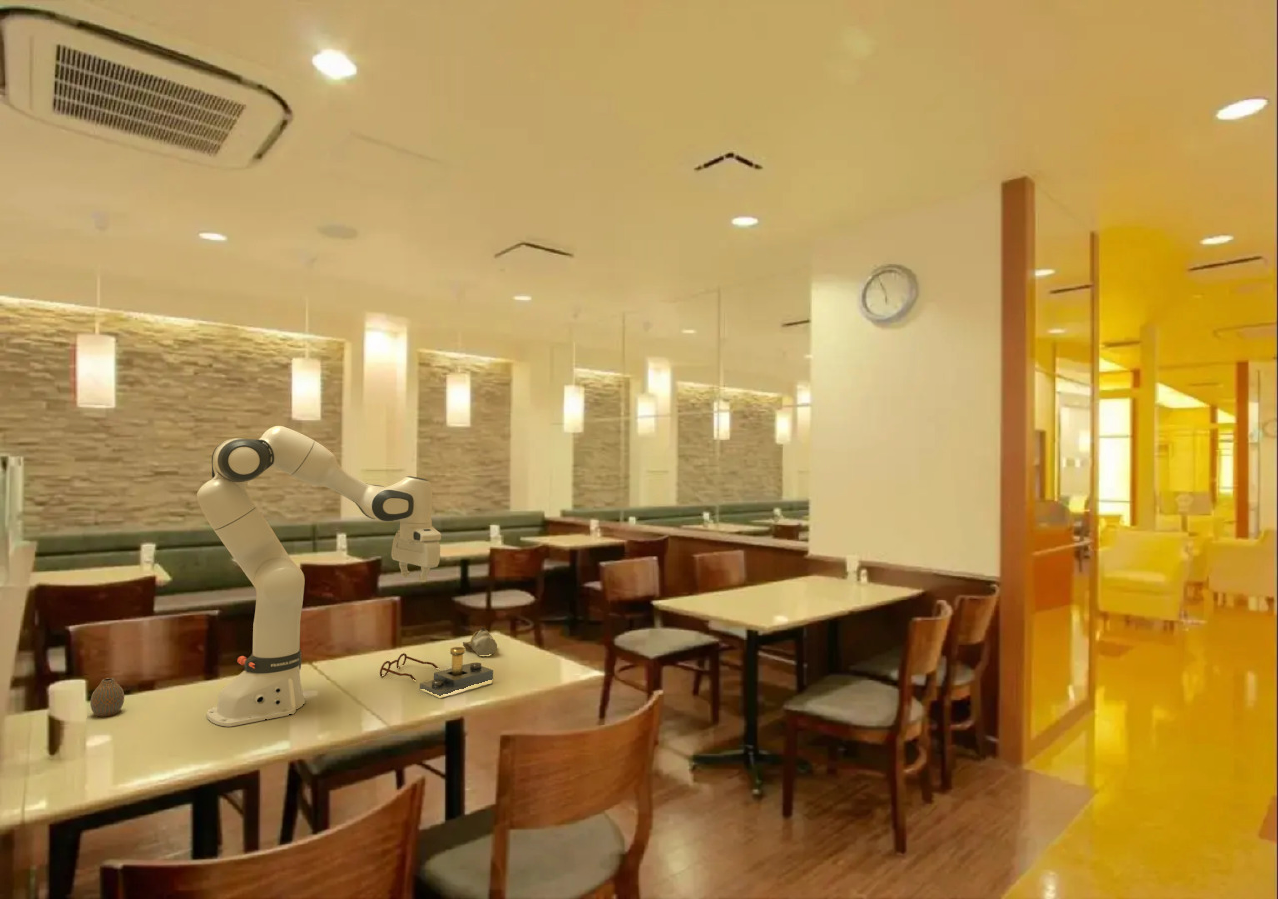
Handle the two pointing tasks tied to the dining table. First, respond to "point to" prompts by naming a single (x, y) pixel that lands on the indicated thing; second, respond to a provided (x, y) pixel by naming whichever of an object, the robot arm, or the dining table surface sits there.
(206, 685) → the dining table surface
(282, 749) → the dining table surface
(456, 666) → the pin
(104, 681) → the vase
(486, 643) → the ceramic sculpture
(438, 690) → the metal plate with knobs
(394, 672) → the glasses
